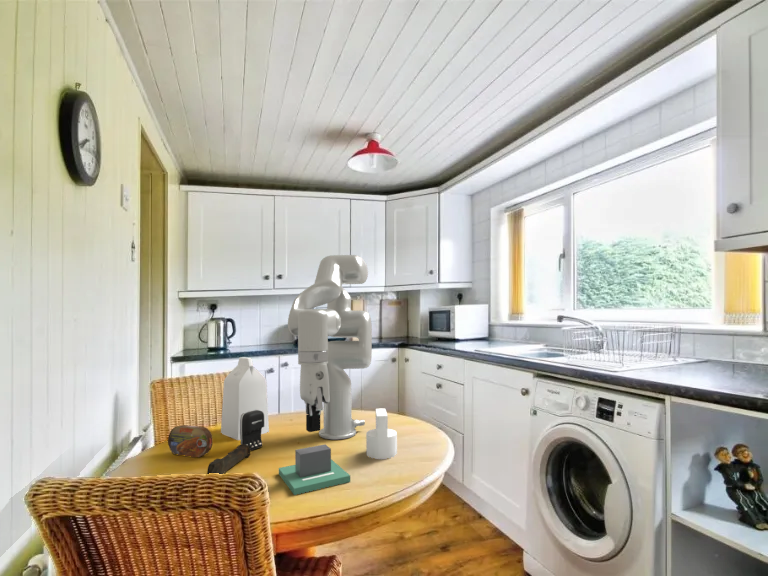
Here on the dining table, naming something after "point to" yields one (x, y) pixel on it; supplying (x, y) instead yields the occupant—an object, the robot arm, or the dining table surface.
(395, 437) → the base with upright slab
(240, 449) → the hand tool
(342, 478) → the header board
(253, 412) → the black battery charger
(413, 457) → the dining table surface
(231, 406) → the milk
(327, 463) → the block
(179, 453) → the tin
